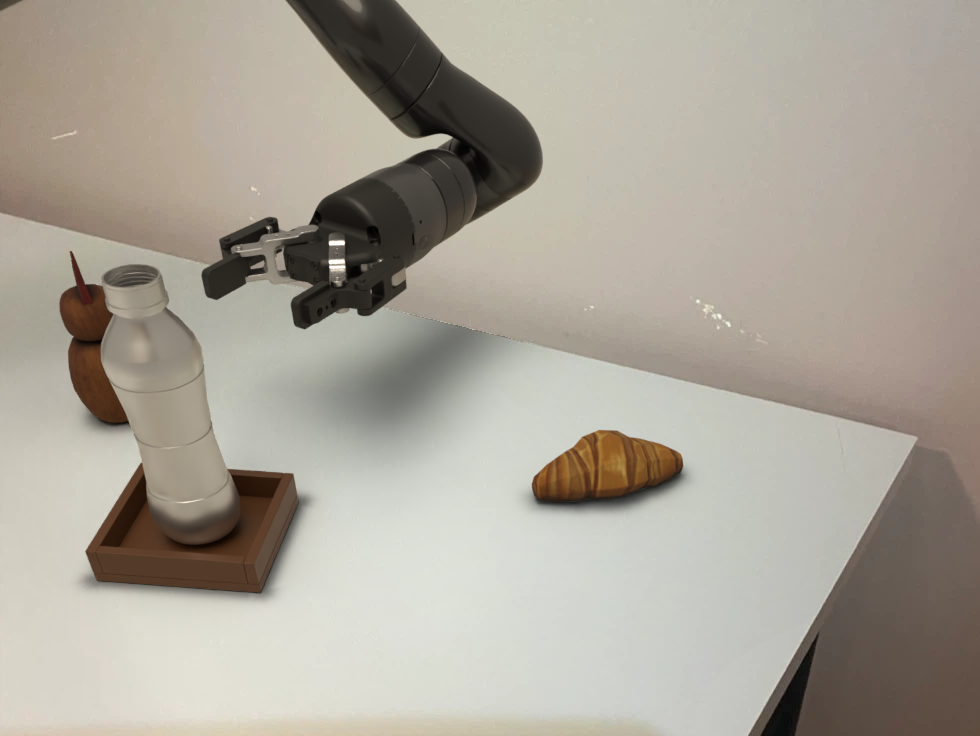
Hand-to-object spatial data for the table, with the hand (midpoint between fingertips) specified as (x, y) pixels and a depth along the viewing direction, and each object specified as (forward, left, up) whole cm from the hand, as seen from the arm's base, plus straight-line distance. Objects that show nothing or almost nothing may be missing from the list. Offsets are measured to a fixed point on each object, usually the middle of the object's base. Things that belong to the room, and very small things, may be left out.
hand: (250, 301), depth 75 cm
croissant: (+27, +2, -16) cm, 31 cm away
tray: (-4, -9, -15) cm, 18 cm away
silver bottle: (-4, -9, -15) cm, 18 cm away
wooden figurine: (-17, +8, -16) cm, 25 cm away
